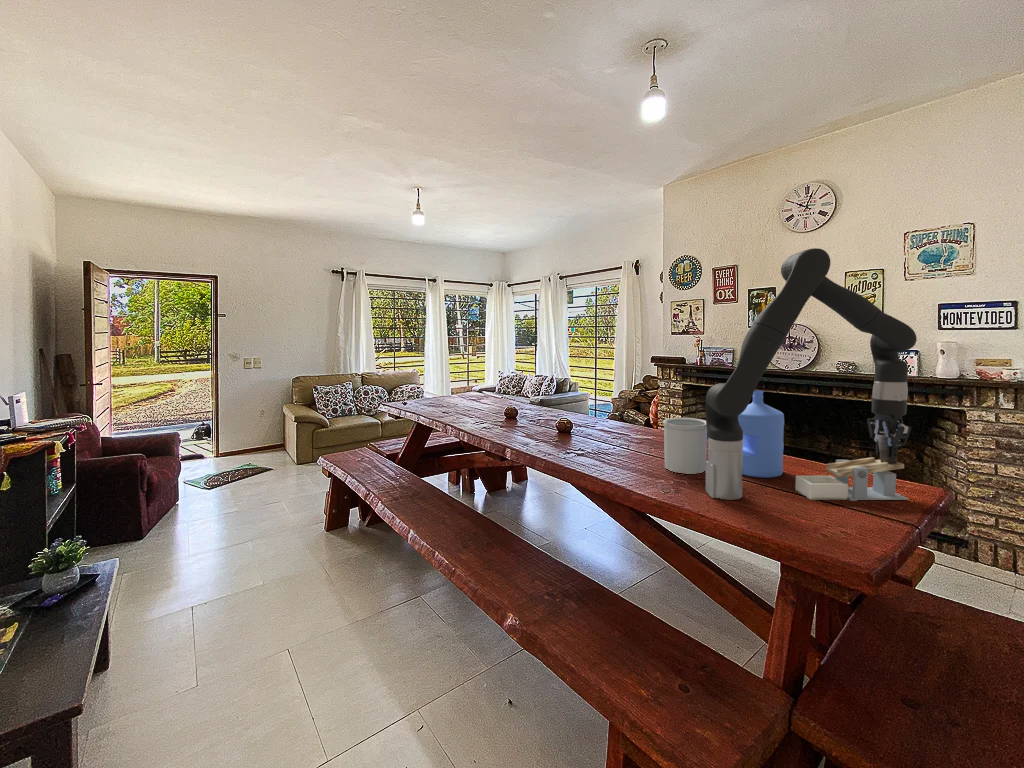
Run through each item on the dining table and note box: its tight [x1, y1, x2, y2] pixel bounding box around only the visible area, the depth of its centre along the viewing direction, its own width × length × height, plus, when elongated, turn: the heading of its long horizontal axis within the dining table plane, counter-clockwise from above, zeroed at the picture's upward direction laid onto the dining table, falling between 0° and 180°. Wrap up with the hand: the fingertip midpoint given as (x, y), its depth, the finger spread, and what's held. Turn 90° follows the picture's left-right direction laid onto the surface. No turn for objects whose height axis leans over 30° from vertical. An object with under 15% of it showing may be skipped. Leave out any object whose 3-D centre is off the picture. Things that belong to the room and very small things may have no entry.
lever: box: [825, 434, 905, 477], centre depth 126 cm, size 17×6×9 cm, turn 84°
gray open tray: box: [795, 475, 849, 501], centre depth 128 cm, size 10×8×4 cm
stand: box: [834, 459, 910, 502], centre depth 127 cm, size 15×10×9 cm, turn 84°
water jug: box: [738, 390, 785, 479], centre depth 151 cm, size 16×16×28 cm
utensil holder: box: [662, 417, 708, 474], centre depth 157 cm, size 15×15×18 cm
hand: (886, 456), depth 126 cm, fingers closed on lever, 3 cm apart
